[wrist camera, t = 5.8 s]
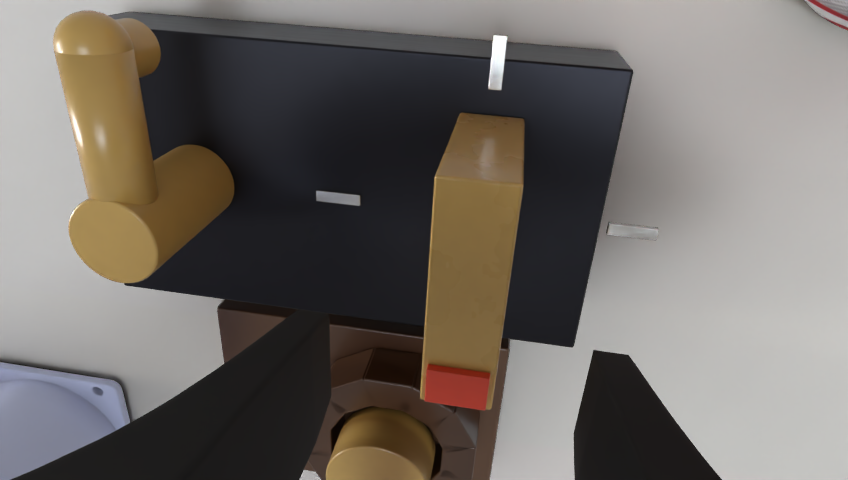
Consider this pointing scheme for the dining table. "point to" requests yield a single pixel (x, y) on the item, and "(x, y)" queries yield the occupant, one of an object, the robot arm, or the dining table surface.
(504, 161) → the tan block
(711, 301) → the dining table surface
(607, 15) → the dining table surface
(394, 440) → the button
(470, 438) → the block
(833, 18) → the soda can
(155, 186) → the tap spout
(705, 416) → the dining table surface
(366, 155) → the plate
